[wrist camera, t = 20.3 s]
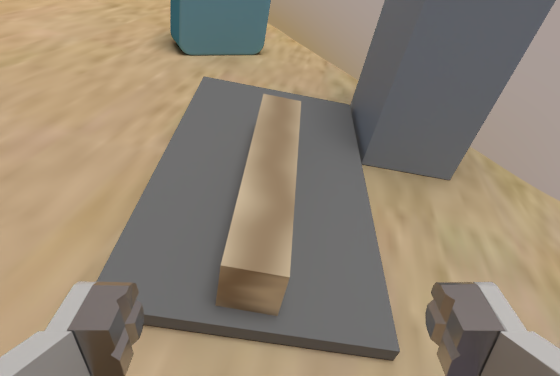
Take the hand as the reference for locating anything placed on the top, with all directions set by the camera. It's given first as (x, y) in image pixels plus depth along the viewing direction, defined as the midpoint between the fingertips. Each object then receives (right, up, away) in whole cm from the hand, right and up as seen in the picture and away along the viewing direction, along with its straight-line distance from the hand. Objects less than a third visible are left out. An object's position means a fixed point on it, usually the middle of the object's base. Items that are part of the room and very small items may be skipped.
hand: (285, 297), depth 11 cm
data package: (-9, +22, +43) cm, 49 cm away
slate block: (+13, +8, +31) cm, 35 cm away
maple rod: (-1, +2, +18) cm, 19 cm away
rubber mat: (-1, +4, +22) cm, 22 cm away
